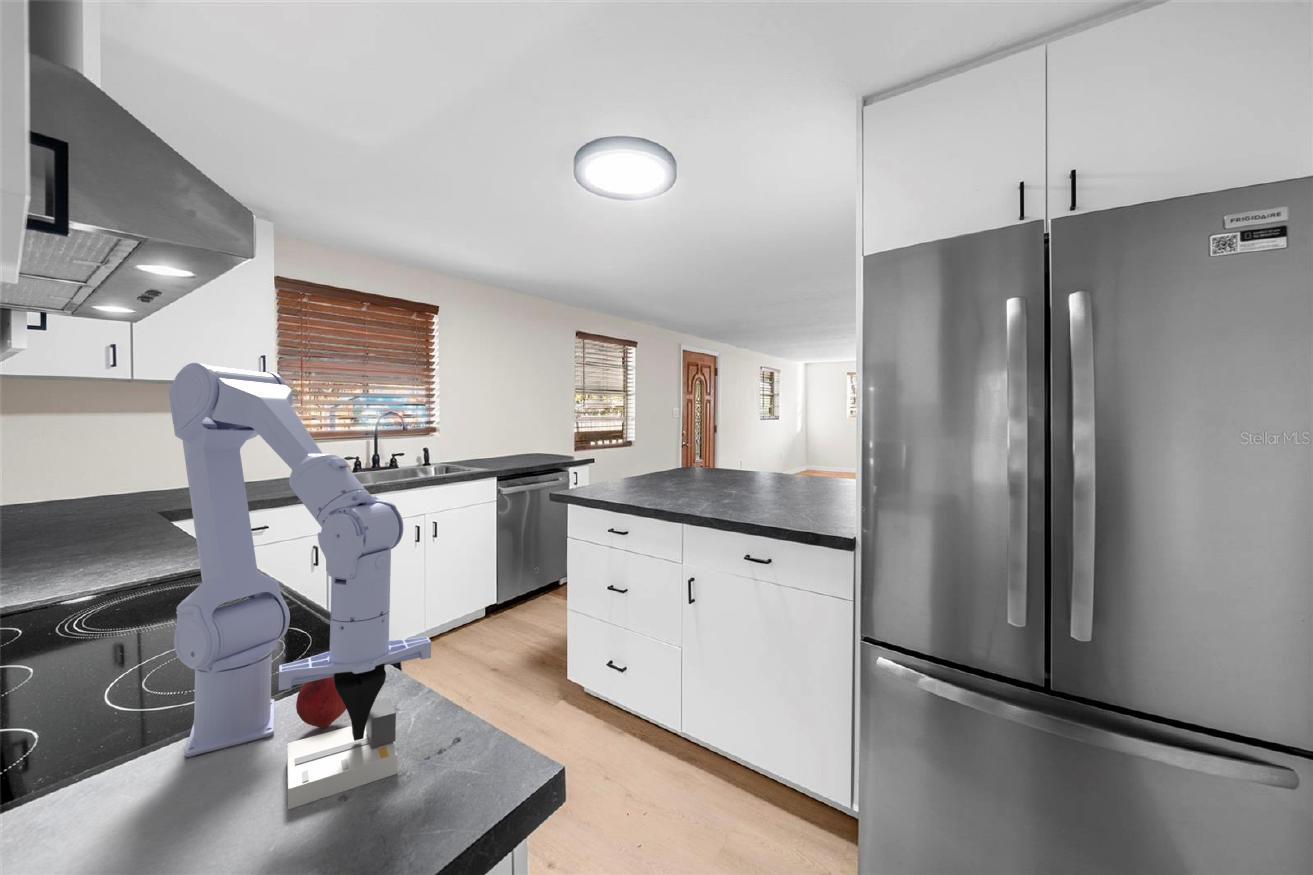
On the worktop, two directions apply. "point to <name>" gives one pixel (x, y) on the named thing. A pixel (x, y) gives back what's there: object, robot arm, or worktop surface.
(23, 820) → the worktop surface
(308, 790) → the console
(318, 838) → the worktop surface
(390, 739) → the fader knob
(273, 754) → the worktop surface
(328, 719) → the onion
